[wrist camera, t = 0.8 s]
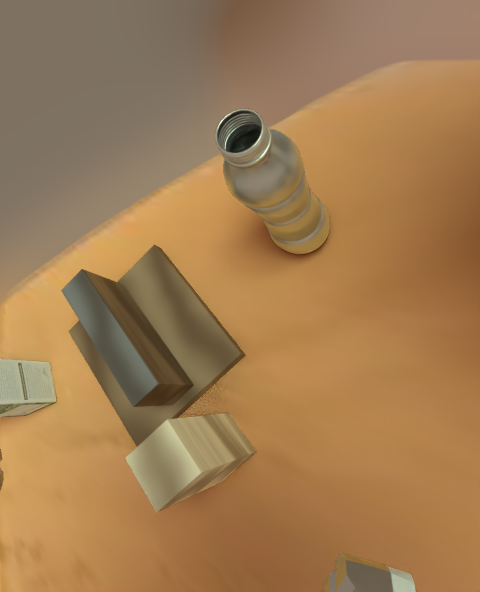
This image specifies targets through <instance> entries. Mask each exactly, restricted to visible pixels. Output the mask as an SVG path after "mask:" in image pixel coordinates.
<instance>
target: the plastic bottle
mask: <svg viewBox="0 0 480 592" xmlns="http://www.w3.org/2000/svg"><path fill="white" fill-rule="evenodd" d="M215 141H216V144H217V146H218V148H219V150H220V151H221V153H222V155H223V157H224V164H223V173H224V178H225V182H226V185H227V187H228V189H229V191H230V192H231V193H232V195H233V196H234V197H235V198H236V199H238V200H239V201H240V202H241V203H243V204H244V205H246V206H247V207H249V208H250V209H252V210H253V211H254V212H255V213H257V214H258V215H259V216H260V217H261V218H262V219H263V221H264V223H265V224H266V226H267V230H268V232H269V234H270V236H271V238H272V240H273V241H274V242H275V244H276V245H278V246H279V247H280V248H282V249H284V250H286V251H288V252H290V253H294V254H306V253H309V252H312V251H314V250H316V249H317V248H319V247H320V246H321V245H322V244H323V243H324V242H325V240H326V239H327V237H328V234H329V230H330V216H329V213H328V210H327V208H326V207H325V205H324V204H323V203H322V202H321V201H320V200H319V198H318V197H316V196H315V195H314V194H313V192H312V191H311V190H310V188H309V185H308V183H307V180H306V177H305V171H304V166H303V161H302V157H301V154H300V151H299V149H298V147H297V146H296V144H295V143H294V142H293V141H292V140H291V139H290V138H288V137H287V136H286V135H284V134H283V133H281V132H279V131H276V130H273V129H269V128H268V126H267V125H266V124H265V123H264V121H263V119H262V117H261V116H260V115H259V114H258V113H257V112H255V111H254V110H251V109H246V108H243V109H237V110H234V111H232V112H230V113H228V114H227V115H226V116H225V117H223V119H222V120H221V121H220V123H219V124H218V126H217V128H216V132H215Z"/></svg>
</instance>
